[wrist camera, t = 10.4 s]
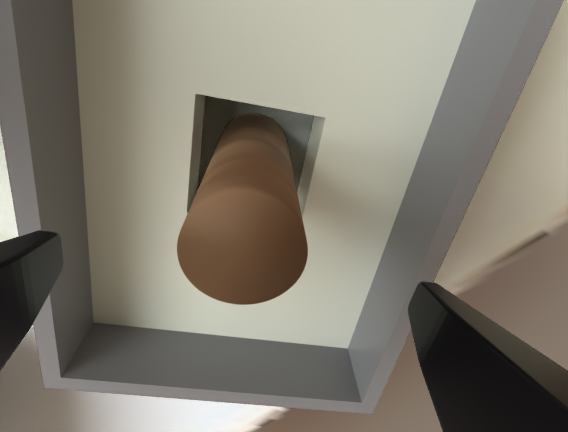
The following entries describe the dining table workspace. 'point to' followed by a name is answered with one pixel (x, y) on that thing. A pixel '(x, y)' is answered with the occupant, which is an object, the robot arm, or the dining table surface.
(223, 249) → the peg
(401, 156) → the box
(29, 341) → the dining table surface
